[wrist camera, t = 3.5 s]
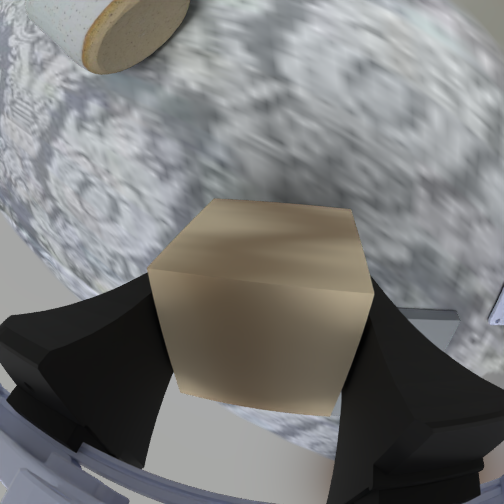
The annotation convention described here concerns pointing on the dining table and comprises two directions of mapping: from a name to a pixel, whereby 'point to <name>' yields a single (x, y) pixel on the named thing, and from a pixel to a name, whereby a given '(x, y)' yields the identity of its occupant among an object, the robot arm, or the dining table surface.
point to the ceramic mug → (107, 29)
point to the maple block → (264, 304)
